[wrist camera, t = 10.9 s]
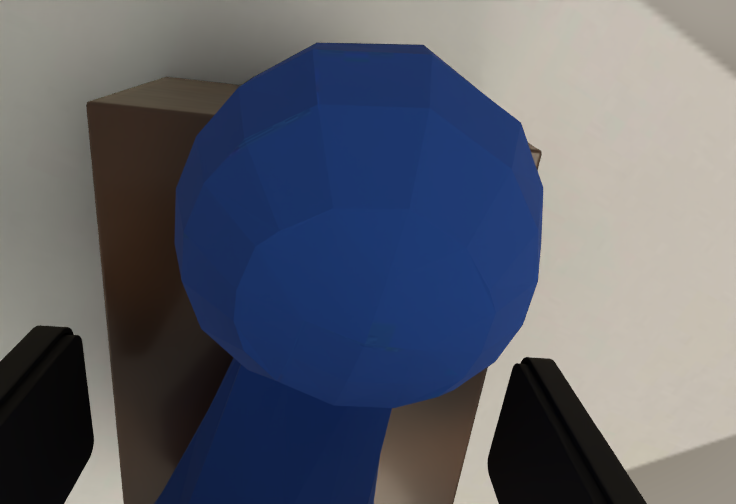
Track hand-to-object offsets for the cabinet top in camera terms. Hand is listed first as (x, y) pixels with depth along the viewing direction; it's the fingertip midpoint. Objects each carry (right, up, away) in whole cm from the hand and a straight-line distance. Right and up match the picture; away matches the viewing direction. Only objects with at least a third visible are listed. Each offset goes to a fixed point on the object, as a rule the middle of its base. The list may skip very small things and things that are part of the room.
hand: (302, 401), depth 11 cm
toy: (0, 0, +2) cm, 2 cm away
